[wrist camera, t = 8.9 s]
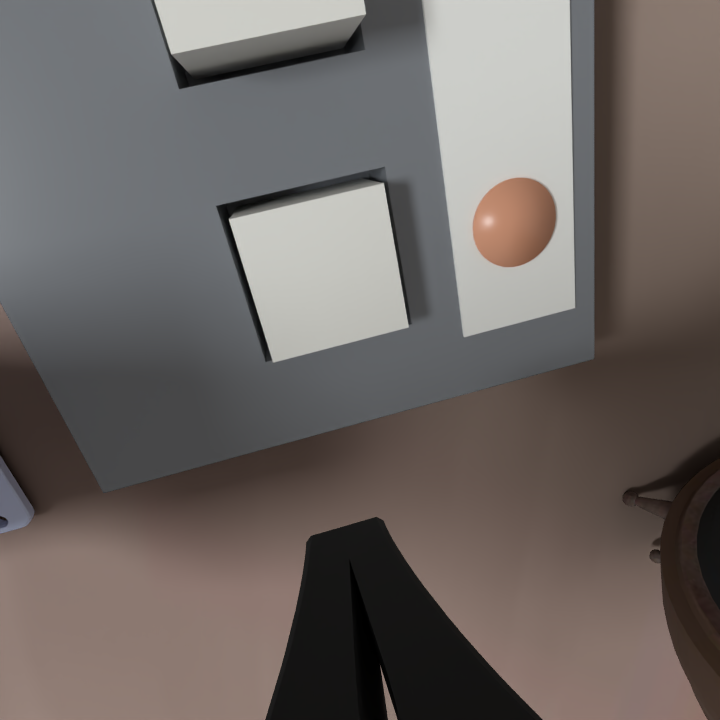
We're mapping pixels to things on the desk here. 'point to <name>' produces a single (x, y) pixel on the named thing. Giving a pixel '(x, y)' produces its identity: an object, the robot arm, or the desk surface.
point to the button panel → (276, 179)
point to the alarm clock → (692, 579)
